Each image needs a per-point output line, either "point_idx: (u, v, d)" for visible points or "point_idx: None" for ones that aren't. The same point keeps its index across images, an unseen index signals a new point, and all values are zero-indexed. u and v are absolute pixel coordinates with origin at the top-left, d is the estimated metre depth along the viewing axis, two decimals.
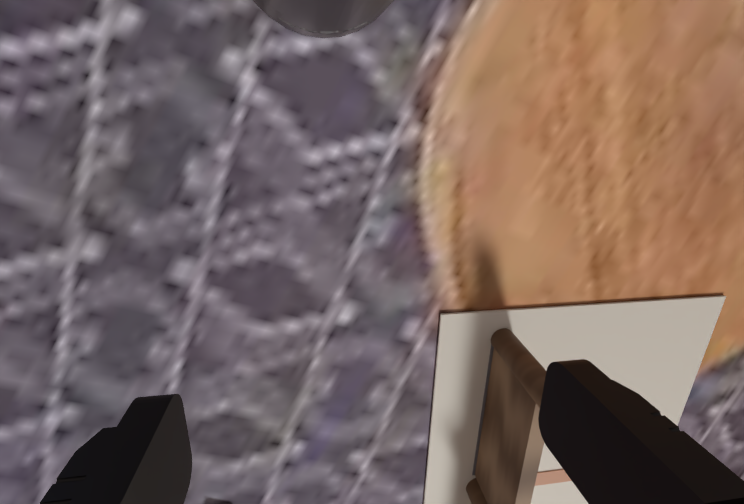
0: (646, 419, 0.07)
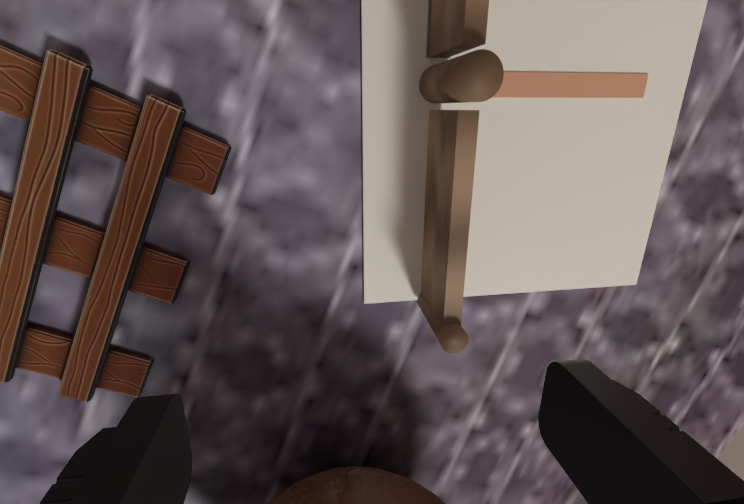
0: (646, 419, 0.07)
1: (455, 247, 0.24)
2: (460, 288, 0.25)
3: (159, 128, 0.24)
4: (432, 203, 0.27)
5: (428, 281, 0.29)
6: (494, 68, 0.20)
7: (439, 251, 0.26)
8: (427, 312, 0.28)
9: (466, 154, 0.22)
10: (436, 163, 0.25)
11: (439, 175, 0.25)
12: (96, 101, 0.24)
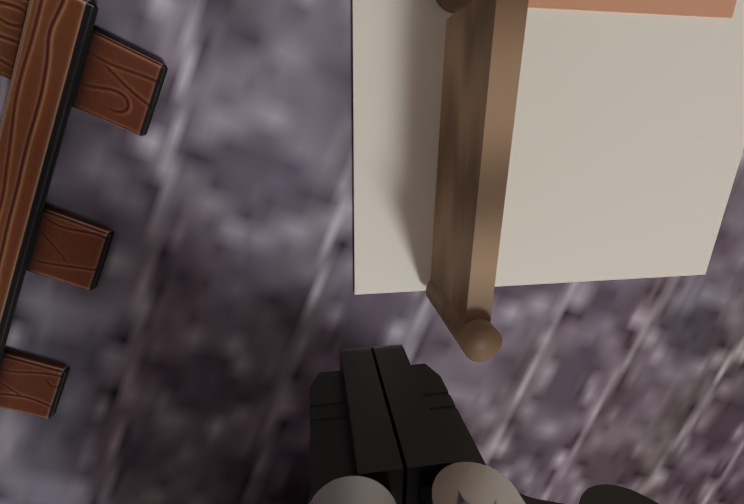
0: (414, 396, 0.07)
1: (487, 205, 0.16)
2: (491, 267, 0.17)
3: (56, 29, 0.16)
4: (450, 150, 0.19)
5: (442, 262, 0.21)
6: None
7: (460, 215, 0.18)
8: (441, 305, 0.21)
9: (508, 58, 0.14)
10: (458, 89, 0.18)
11: (462, 104, 0.17)
12: None
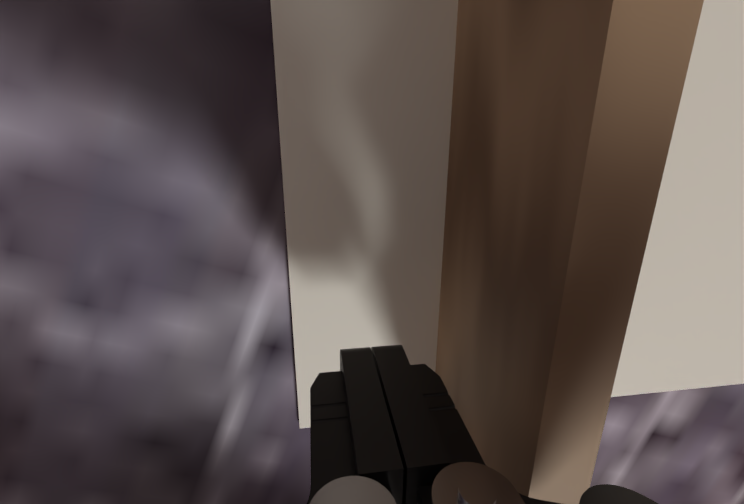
0: (413, 397, 0.07)
1: (580, 346, 0.06)
2: (580, 477, 0.07)
3: None
4: (474, 187, 0.09)
5: (456, 397, 0.11)
6: None
7: (500, 339, 0.08)
8: None
9: None
10: (493, 53, 0.08)
11: (507, 86, 0.07)
12: None
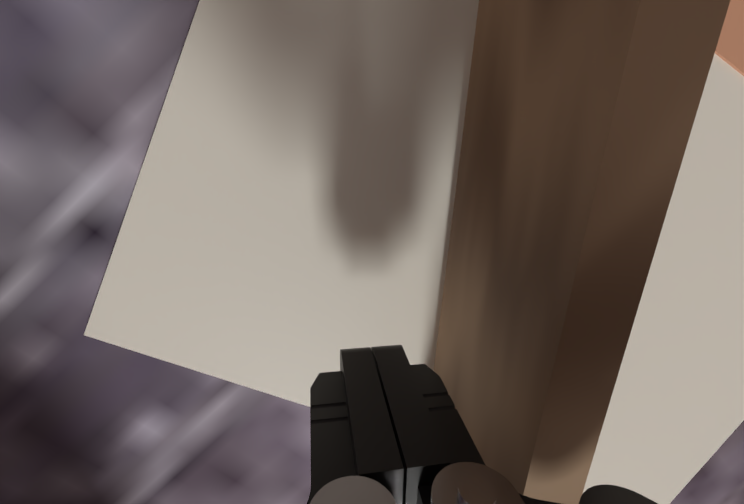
0: (413, 397, 0.07)
1: (584, 347, 0.06)
2: (575, 478, 0.07)
3: None
4: (485, 188, 0.09)
5: (453, 395, 0.11)
6: None
7: (503, 338, 0.08)
8: None
9: None
10: (512, 55, 0.08)
11: (524, 88, 0.07)
12: None
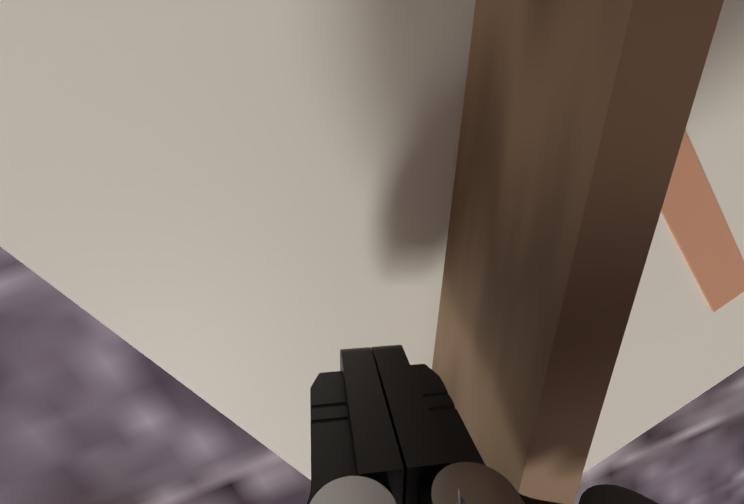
0: (413, 397, 0.07)
1: (577, 349, 0.06)
2: (570, 477, 0.07)
3: None
4: (481, 188, 0.09)
5: (451, 394, 0.11)
6: None
7: (499, 339, 0.08)
8: None
9: None
10: (508, 56, 0.08)
11: (519, 90, 0.07)
12: None
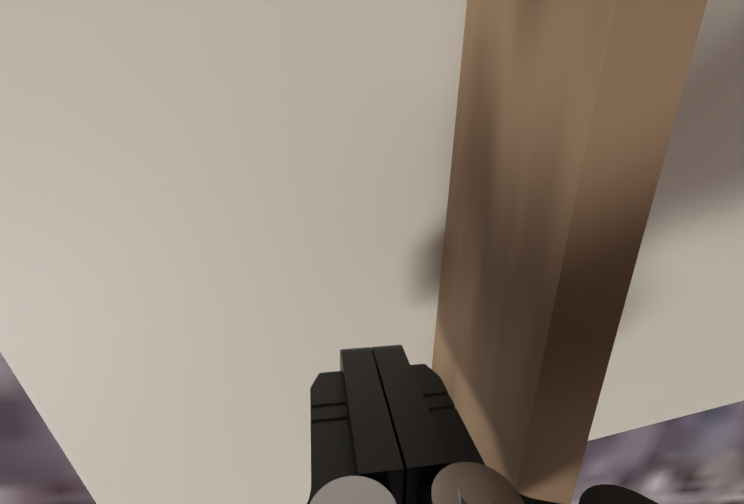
0: (413, 397, 0.07)
1: (570, 348, 0.06)
2: (567, 475, 0.07)
3: None
4: (475, 189, 0.09)
5: (450, 393, 0.11)
6: None
7: (495, 338, 0.08)
8: None
9: None
10: (499, 57, 0.08)
11: (510, 91, 0.07)
12: None
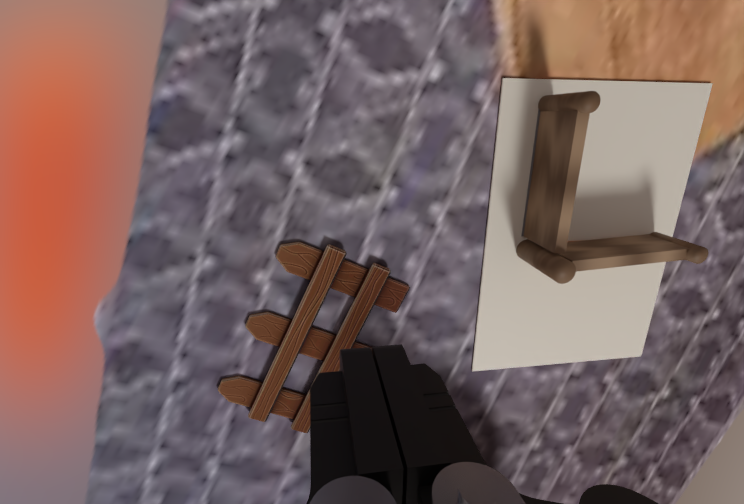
0: (413, 397, 0.07)
1: (641, 260, 0.41)
2: (666, 253, 0.41)
3: (377, 281, 0.43)
4: None
5: None
6: (571, 268, 0.39)
7: None
8: None
9: (593, 263, 0.40)
10: None
11: None
12: (344, 267, 0.42)
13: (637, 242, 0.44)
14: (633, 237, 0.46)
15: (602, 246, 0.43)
